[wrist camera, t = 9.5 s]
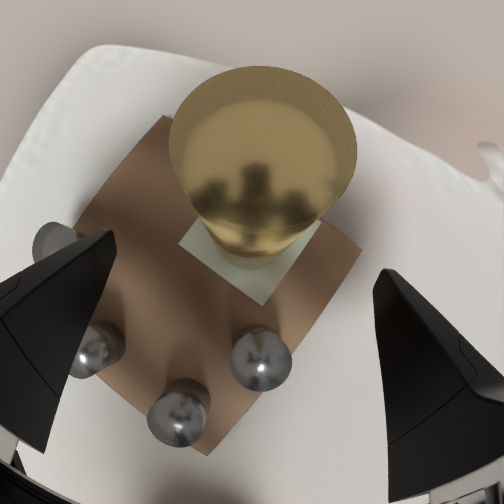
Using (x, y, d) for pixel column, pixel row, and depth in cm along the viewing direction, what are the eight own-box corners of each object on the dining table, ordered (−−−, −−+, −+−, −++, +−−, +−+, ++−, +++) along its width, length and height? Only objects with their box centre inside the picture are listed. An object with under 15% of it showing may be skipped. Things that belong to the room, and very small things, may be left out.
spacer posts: (208, 443, 17) (201, 475, 13) (38, 298, 18) (3, 297, 14) (291, 342, 18) (304, 355, 14) (101, 197, 19) (73, 177, 15)
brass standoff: (246, 284, 18) (256, 272, 6) (199, 229, 18) (134, 130, 6) (300, 237, 18) (390, 152, 6) (253, 185, 19) (270, 45, 7)
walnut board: (208, 449, 17) (206, 458, 16) (36, 303, 18) (26, 303, 17) (356, 252, 20) (364, 249, 18) (166, 121, 21) (162, 112, 19)
